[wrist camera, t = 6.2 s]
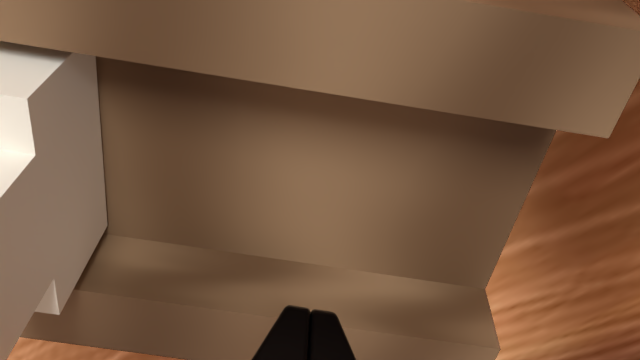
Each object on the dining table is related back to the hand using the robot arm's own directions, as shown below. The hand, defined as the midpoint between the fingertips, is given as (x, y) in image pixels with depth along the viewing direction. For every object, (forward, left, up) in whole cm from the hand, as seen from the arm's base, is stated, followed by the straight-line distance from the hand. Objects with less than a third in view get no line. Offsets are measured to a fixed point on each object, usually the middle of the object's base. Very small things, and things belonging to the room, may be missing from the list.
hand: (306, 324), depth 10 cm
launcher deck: (+3, 0, -10) cm, 10 cm away
